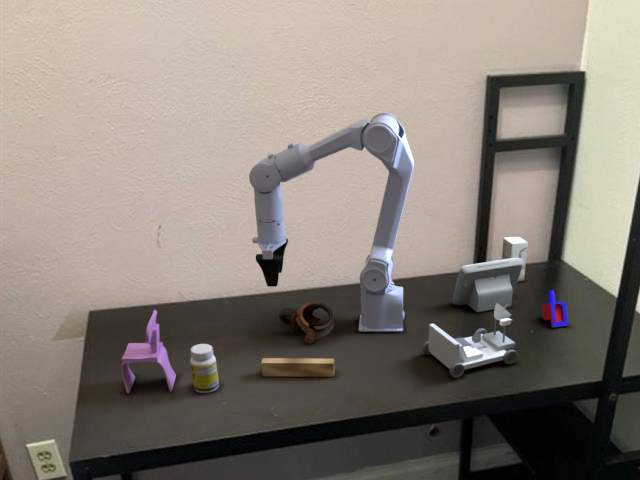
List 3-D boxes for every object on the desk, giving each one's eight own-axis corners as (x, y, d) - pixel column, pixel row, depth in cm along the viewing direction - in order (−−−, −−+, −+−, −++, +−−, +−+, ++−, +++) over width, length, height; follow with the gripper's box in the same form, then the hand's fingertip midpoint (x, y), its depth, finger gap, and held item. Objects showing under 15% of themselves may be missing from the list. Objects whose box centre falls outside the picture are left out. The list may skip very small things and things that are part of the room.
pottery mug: (331, 324, 173) (339, 301, 166) (326, 358, 168) (334, 337, 161) (278, 312, 171) (283, 289, 165) (271, 347, 166) (277, 324, 159)
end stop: (334, 371, 153) (334, 358, 152) (334, 376, 152) (333, 363, 150) (263, 371, 154) (262, 358, 152) (262, 376, 152) (261, 362, 151)
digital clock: (513, 293, 186) (517, 251, 181) (526, 309, 178) (530, 265, 173) (447, 298, 184) (449, 255, 178) (457, 314, 176) (459, 270, 171)
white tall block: (524, 281, 192) (528, 242, 187) (508, 283, 191) (511, 244, 186) (515, 273, 197) (519, 235, 192) (499, 275, 196) (502, 237, 191)
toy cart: (499, 294, 161) (532, 315, 152) (495, 337, 166) (528, 360, 157) (423, 310, 154) (453, 334, 145) (421, 354, 159) (451, 379, 150)
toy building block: (559, 326, 174) (555, 290, 173) (568, 325, 170) (564, 288, 169) (544, 328, 173) (540, 292, 173) (553, 327, 169) (549, 290, 169)
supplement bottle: (195, 381, 150) (190, 343, 146) (220, 380, 151) (215, 341, 146) (192, 394, 146) (187, 354, 142) (218, 393, 147) (213, 353, 142)
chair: (131, 374, 153) (118, 304, 145) (177, 372, 153) (166, 302, 146) (123, 396, 146) (109, 323, 138) (170, 394, 146) (159, 321, 139)
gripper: (256, 207, 169) (261, 266, 176) (245, 229, 157) (251, 292, 164) (288, 207, 169) (292, 266, 176) (280, 229, 157) (284, 292, 163)
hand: (274, 279), depth 170 cm, fingers open, 7 cm apart
